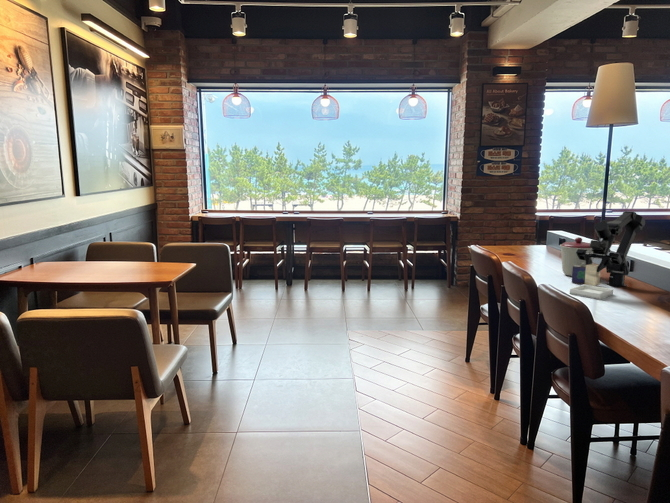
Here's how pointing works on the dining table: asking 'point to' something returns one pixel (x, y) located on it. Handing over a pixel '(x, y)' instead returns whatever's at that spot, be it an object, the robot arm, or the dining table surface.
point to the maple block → (592, 275)
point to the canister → (573, 255)
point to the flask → (578, 274)
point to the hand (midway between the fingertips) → (591, 270)
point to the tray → (591, 291)
